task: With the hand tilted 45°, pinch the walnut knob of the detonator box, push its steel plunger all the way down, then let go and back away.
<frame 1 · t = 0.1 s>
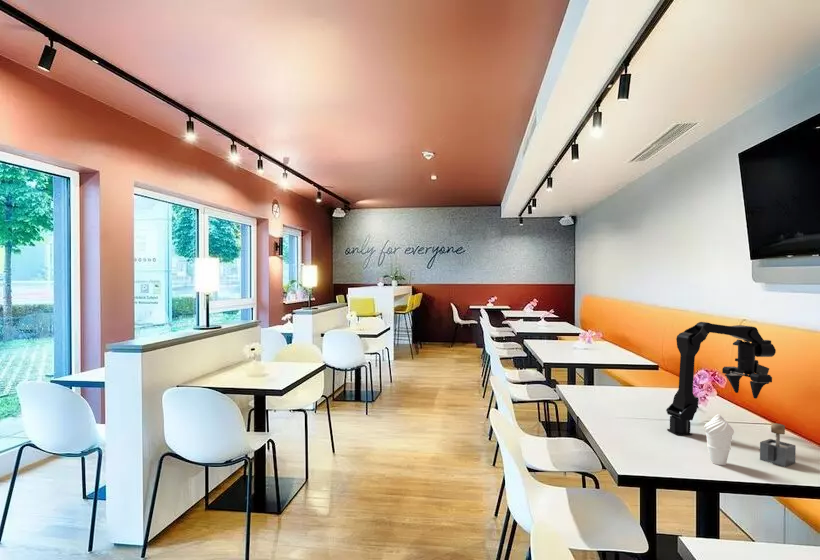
hand: (745, 395, 188), 15 cm above the table, tool pointing down, fingers open, 9 cm apart
plunger: (777, 436, 156), point 9 cm above the table, slide at 0.0 cm
soft serve ice cream cone: (718, 463, 154), on the table
detonator box: (777, 461, 156), on the table
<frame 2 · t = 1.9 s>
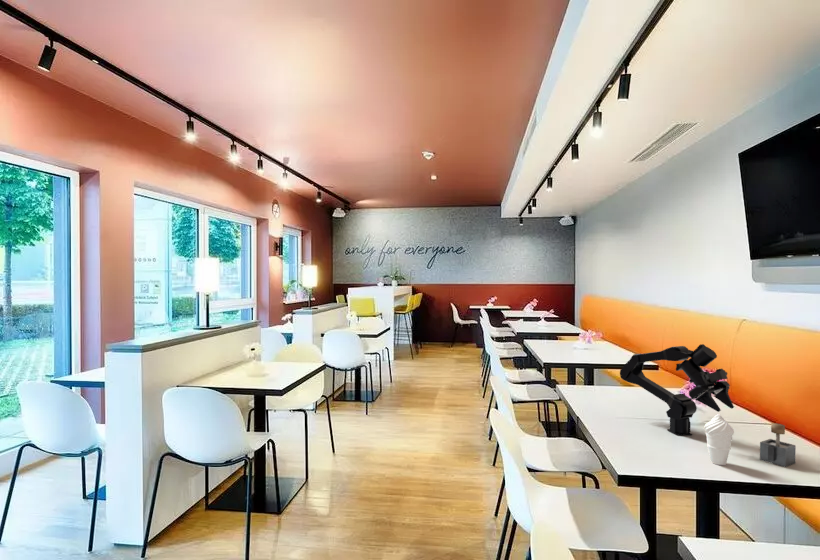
hand: (726, 409, 170), 14 cm above the table, tool tilted 45°, fingers open, 9 cm apart
nothing on the table moved.
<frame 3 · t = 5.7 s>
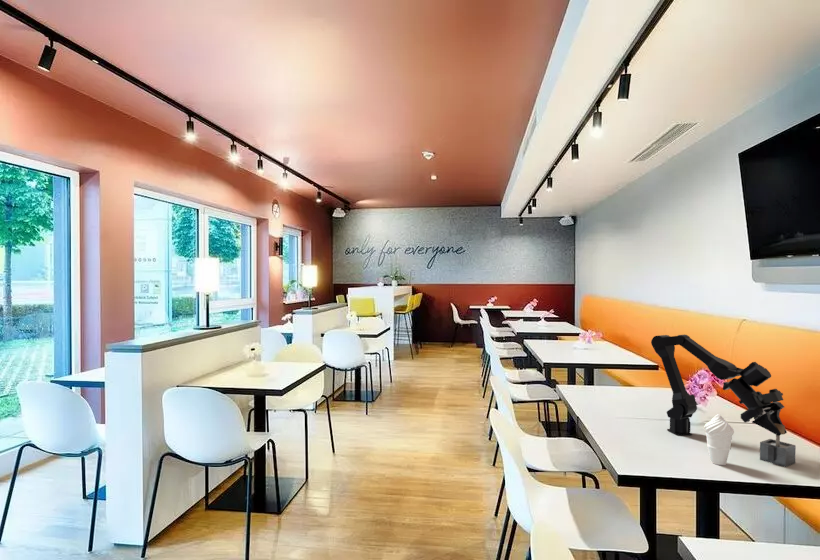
hand: (782, 434, 155), 10 cm above the table, tool tilted 45°, fingers closed on plunger, 4 cm apart
plunger: (777, 436, 156), point 9 cm above the table, slide at 0.0 cm, touching gripper
everything else where it was.
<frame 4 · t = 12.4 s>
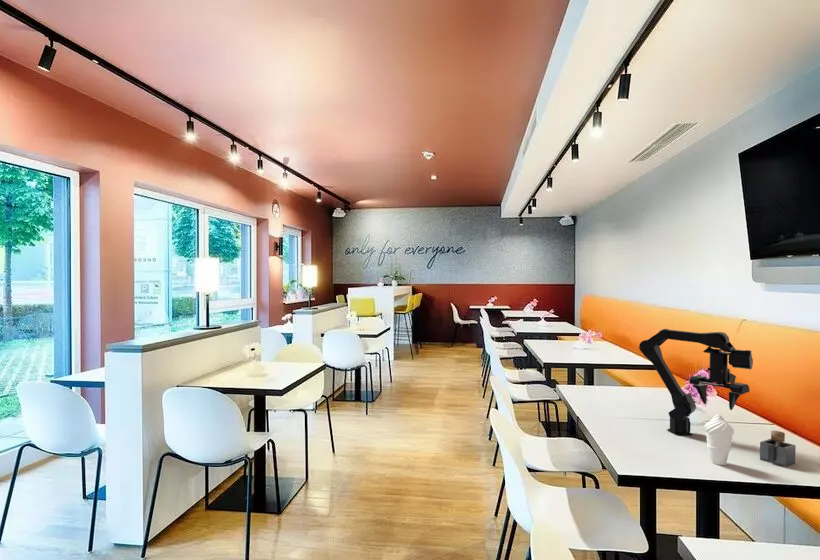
hand: (717, 406, 176), 13 cm above the table, tool pointing down, fingers open, 9 cm apart
plunger: (777, 443, 156), point 6 cm above the table, slide at 2.5 cm
everything else where it was.
at the end: plunger slide at 2.5 cm; the gripper is holding nothing; soft serve ice cream cone moved 0.2 cm from its start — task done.
